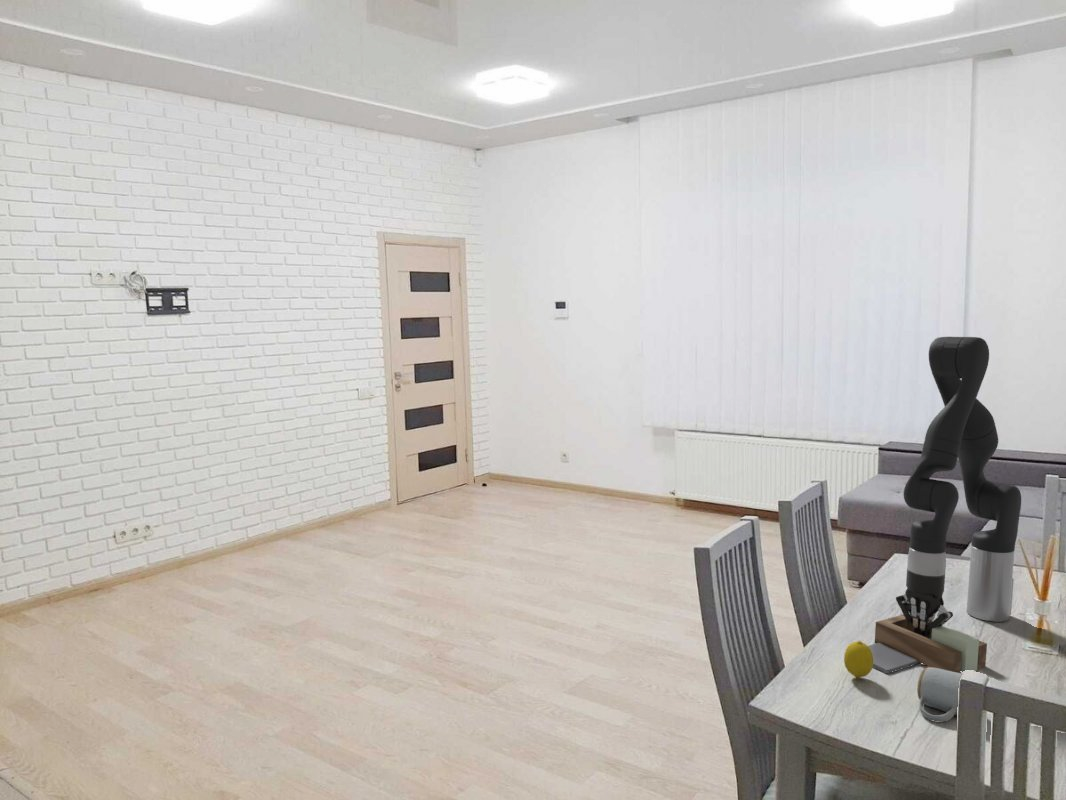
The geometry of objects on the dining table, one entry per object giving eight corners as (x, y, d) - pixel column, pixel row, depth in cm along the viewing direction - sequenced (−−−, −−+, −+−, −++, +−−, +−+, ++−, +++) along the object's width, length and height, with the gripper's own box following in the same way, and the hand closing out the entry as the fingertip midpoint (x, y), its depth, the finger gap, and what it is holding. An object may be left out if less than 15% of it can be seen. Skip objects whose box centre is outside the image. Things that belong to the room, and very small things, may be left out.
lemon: (874, 685, 162) (876, 647, 162) (845, 683, 164) (847, 645, 163) (869, 673, 168) (871, 636, 167) (841, 671, 169) (842, 634, 168)
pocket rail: (906, 633, 188) (908, 613, 187) (985, 666, 171) (987, 643, 171) (874, 643, 183) (875, 622, 182) (952, 677, 166) (954, 654, 165)
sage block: (942, 655, 176) (944, 625, 175) (976, 670, 169) (979, 638, 168) (930, 659, 174) (932, 628, 173) (964, 674, 167) (967, 642, 166)
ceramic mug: (927, 694, 159) (929, 657, 158) (972, 708, 153) (975, 670, 152) (908, 715, 151) (910, 676, 150) (955, 731, 146) (958, 690, 145)
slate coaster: (878, 646, 181) (878, 642, 181) (918, 663, 172) (918, 660, 172) (847, 655, 176) (847, 651, 176) (886, 673, 168) (887, 670, 168)
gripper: (965, 575, 172) (959, 652, 174) (911, 557, 184) (906, 630, 186) (942, 581, 169) (937, 660, 171) (888, 562, 180) (884, 636, 182)
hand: (921, 644), depth 178 cm, fingers closed
